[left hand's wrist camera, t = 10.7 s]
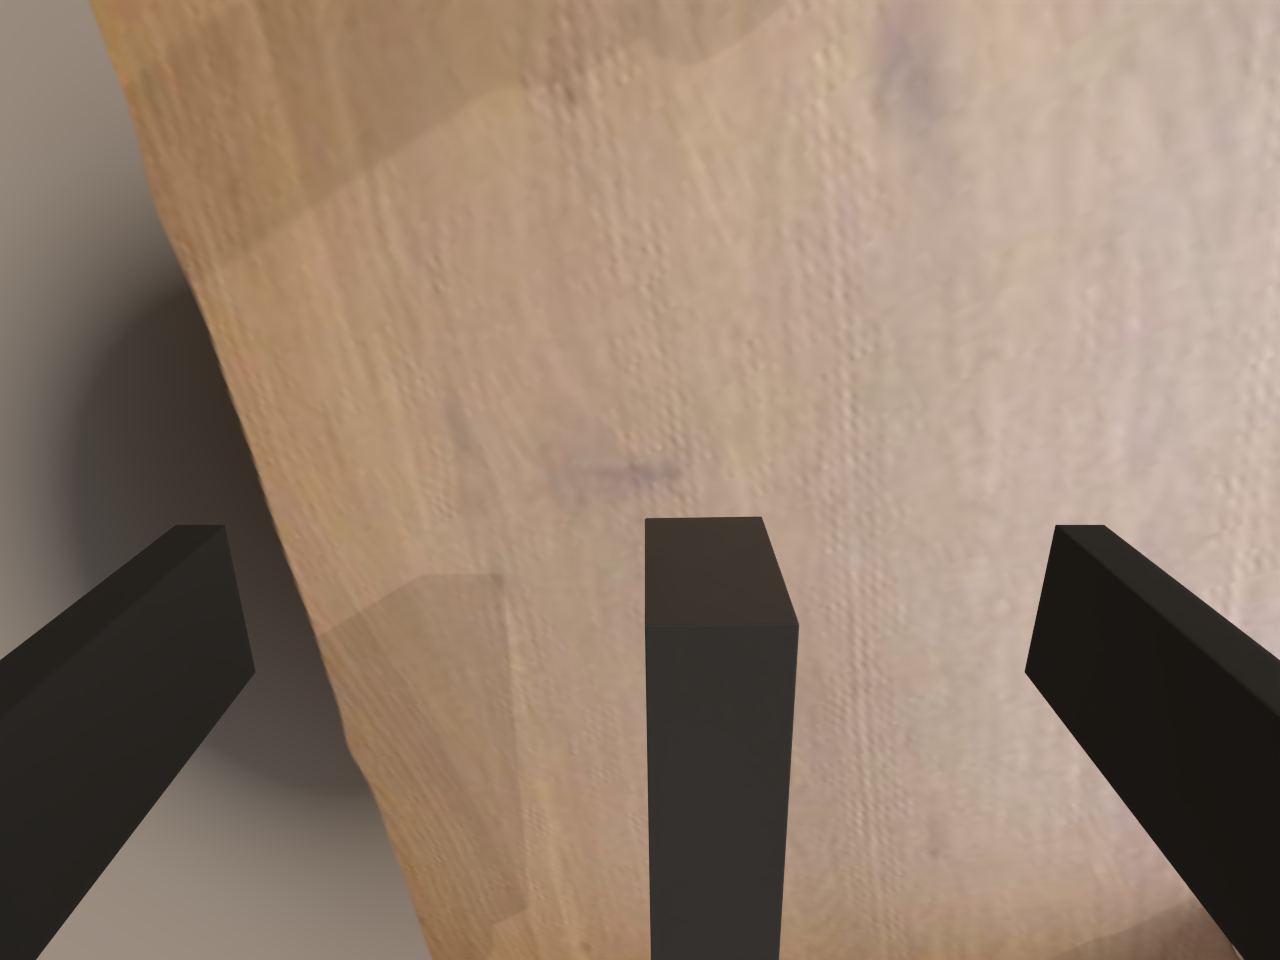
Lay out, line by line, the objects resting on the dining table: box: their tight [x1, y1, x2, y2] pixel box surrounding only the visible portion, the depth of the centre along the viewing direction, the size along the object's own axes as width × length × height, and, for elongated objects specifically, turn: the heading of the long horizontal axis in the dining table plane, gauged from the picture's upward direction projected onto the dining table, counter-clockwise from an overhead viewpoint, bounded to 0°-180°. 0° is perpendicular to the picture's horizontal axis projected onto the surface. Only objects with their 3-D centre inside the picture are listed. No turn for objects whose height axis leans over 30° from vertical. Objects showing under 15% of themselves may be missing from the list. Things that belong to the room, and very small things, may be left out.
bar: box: [645, 517, 799, 960], centre depth 33 cm, size 26×5×8 cm, turn 1°
